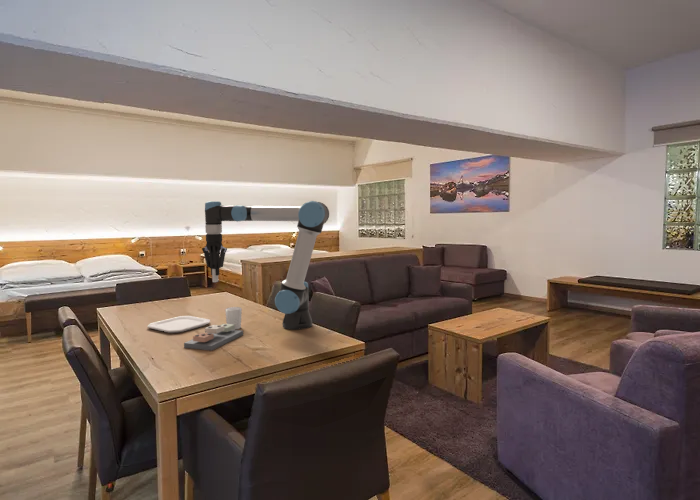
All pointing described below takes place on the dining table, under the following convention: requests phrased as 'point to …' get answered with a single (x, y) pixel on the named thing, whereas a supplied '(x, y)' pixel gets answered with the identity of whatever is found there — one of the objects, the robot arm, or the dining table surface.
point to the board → (214, 340)
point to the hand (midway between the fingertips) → (215, 281)
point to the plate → (179, 324)
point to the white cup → (234, 316)
